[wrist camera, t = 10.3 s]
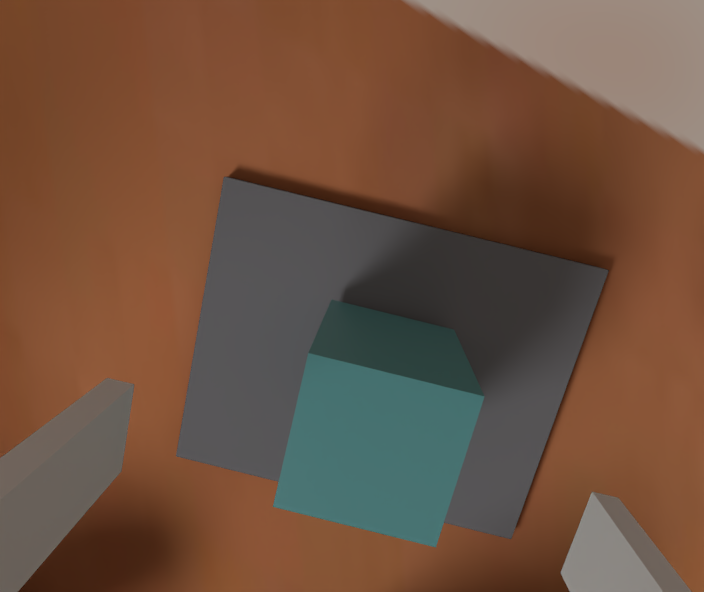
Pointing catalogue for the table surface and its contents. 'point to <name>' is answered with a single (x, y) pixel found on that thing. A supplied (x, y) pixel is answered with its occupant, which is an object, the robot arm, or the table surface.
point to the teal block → (380, 424)
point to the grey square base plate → (390, 297)
